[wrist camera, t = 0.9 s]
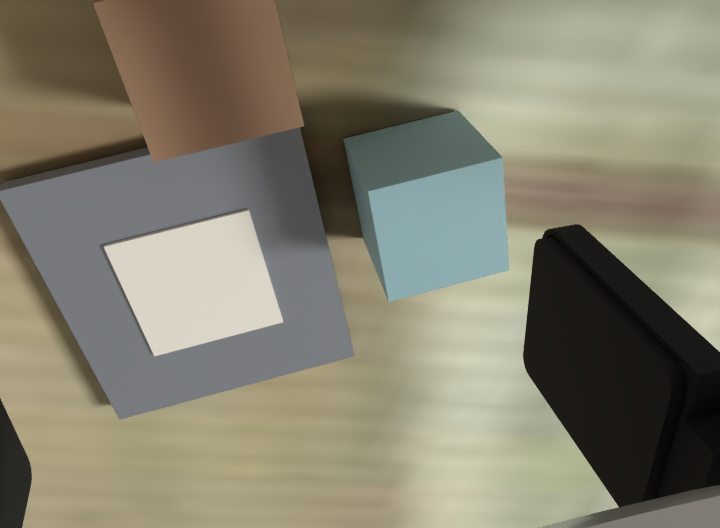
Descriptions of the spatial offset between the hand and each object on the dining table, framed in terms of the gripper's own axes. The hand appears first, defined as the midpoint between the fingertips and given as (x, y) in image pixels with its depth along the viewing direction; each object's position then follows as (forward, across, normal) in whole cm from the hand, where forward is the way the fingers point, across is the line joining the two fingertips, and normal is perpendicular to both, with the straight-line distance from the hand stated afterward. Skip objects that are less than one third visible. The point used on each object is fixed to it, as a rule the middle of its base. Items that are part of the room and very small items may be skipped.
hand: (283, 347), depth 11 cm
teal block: (+22, -9, +8) cm, 25 cm away
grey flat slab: (+22, +3, +12) cm, 25 cm away
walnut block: (+22, 0, 0) cm, 22 cm away
